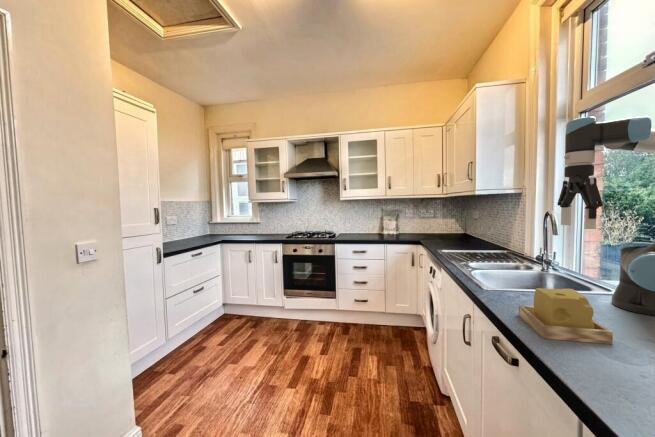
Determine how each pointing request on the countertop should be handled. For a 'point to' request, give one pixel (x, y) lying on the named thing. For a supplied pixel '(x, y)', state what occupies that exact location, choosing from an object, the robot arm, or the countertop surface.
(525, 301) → the countertop surface
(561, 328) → the wooden tray
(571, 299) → the cheese
